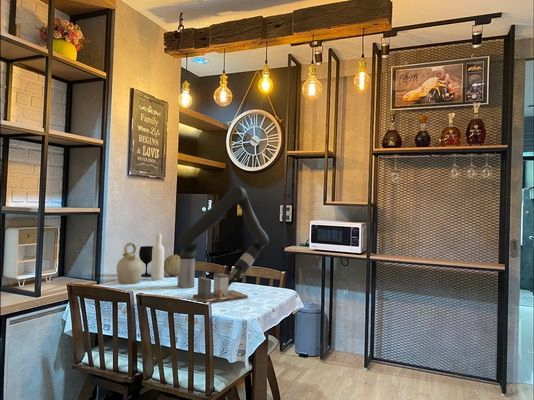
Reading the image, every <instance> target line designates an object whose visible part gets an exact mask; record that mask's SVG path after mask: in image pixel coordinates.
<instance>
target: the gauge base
mask: <svg viewBox="0 0 534 400" xmlns="http://www.w3.org/2000/svg"><path fill="white" fill-rule="evenodd" d="M213 293H214V291H213V292H212V291H211V299H203V298H201V297H199V296H198V293H196V294H192V298H193V299H195V300H197V301H200V302H201V301H202V302H201V303H203V302H210V303H211V304H217V302H218V303H224V302H231V301H238V300H239V301H240V300H245V299H249V295H247V294H244V293H242V292H239V291H236V290H234V289H230V290H229V289H228V296H222V297H221V298H220V297H218V296H217V295H214V294H213Z"/></svg>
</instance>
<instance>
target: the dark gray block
mask: <svg viewBox="0 0 534 400" xmlns="http://www.w3.org/2000/svg"><path fill="white" fill-rule="evenodd" d="M211 293H212V279H210V278H207V277H205V276H199V277H198V278H197V294H198V296H199V297H201V298H203V299H211Z"/></svg>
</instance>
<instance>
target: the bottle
mask: <svg viewBox="0 0 534 400" xmlns="http://www.w3.org/2000/svg"><path fill="white" fill-rule="evenodd" d="M162 237H163V236H162V233H156V234H155V245H154V246H153V249H152V261H151V273H150V274H151V277H150V278H151V279H152V280H151V279H150V280H151V281H155V280H159V281H163V280H164V277H165V274H164V273H165V271H164V261H165V247H164V246H163V244H162V241H163V240H162Z"/></svg>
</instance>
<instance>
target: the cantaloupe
mask: <svg viewBox="0 0 534 400" xmlns="http://www.w3.org/2000/svg"><path fill="white" fill-rule="evenodd" d="M179 265H180V255H178V254H177V253H175V254H172V255H169V256H167V257H166V258H165V259H164V273H166V274H167V275H168V276H170V277H178V271H179Z"/></svg>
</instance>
